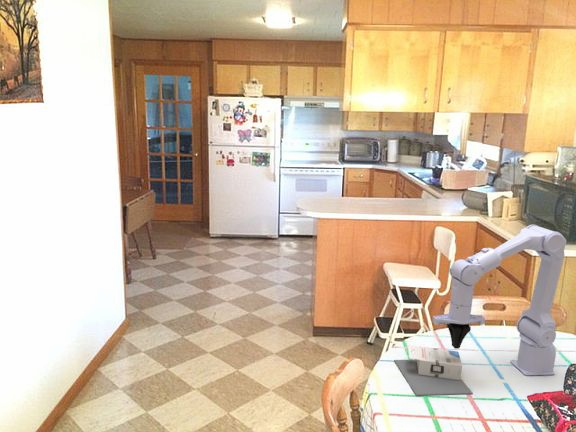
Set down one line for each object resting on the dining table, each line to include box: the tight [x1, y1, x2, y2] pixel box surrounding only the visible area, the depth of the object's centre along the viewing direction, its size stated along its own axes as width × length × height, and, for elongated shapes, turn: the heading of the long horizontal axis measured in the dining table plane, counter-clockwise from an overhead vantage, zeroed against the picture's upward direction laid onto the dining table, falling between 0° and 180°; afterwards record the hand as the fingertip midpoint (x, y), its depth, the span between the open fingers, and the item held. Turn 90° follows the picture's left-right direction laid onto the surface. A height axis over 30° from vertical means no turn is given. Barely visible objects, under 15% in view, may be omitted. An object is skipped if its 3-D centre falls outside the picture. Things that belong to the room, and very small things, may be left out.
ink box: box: [407, 345, 463, 380], centre depth 137 cm, size 9×5×15 cm
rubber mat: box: [393, 359, 474, 397], centre depth 134 cm, size 16×18×1 cm
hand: (455, 346), depth 133 cm, fingers closed
